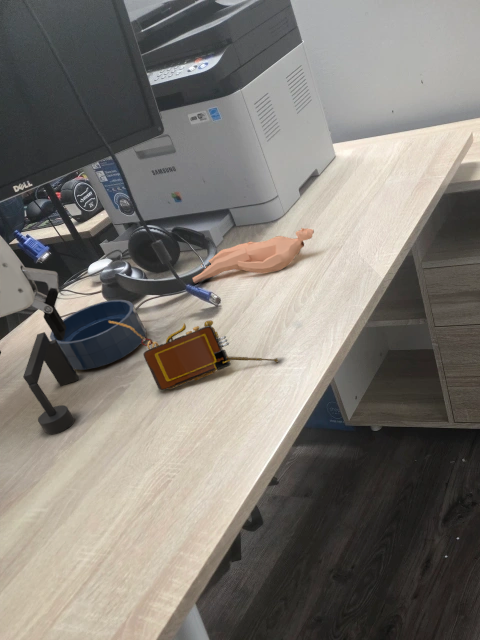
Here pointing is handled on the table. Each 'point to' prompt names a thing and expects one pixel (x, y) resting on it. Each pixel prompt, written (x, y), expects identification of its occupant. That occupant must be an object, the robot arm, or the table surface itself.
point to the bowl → (101, 334)
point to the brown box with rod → (187, 356)
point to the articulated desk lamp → (62, 371)
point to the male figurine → (257, 255)
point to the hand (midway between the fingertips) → (29, 347)
